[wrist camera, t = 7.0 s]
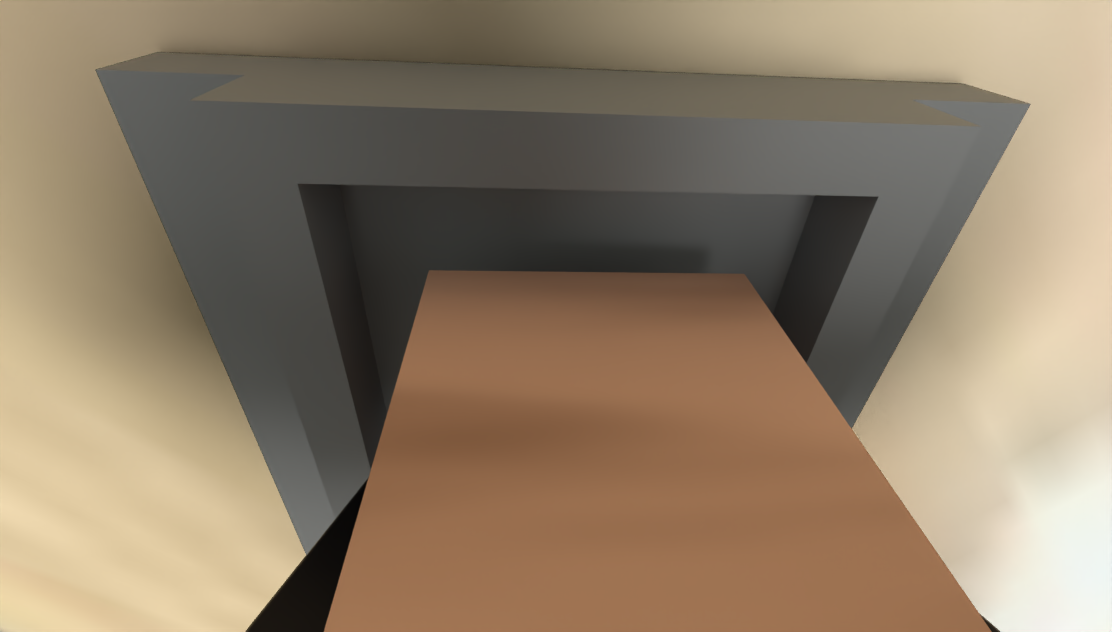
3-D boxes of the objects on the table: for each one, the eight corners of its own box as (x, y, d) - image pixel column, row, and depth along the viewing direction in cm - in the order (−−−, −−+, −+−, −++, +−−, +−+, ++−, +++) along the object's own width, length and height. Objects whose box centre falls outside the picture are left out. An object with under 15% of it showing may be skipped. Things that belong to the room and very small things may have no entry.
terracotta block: (685, 472, 11) (812, 879, 6) (452, 476, 11) (395, 911, 6) (744, 273, 8) (1068, 743, 3) (428, 270, 8) (279, 786, 3)
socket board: (728, 585, 20) (820, 869, 14) (356, 598, 19) (277, 910, 13) (964, 84, 9) (1791, 333, 3) (157, 52, 8) (-817, 327, 2)
